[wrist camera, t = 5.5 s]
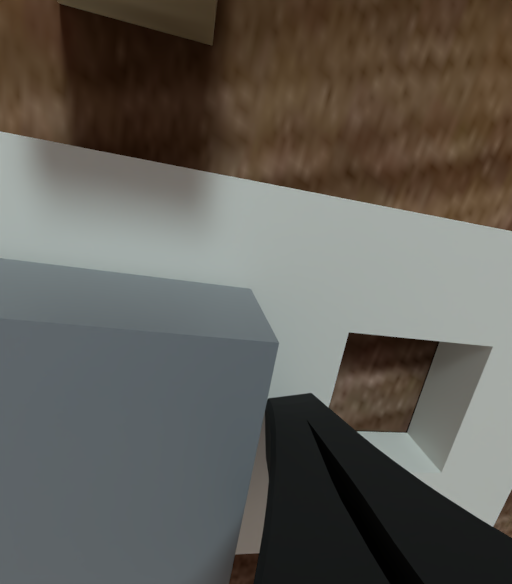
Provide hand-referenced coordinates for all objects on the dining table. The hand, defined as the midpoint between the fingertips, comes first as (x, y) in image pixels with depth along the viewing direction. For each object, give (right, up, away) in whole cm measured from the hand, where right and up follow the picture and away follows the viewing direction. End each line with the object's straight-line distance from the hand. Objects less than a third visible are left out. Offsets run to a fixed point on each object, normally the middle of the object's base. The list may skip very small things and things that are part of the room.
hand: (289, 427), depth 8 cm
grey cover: (-5, +1, 0) cm, 5 cm away
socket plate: (0, +1, +3) cm, 3 cm away
